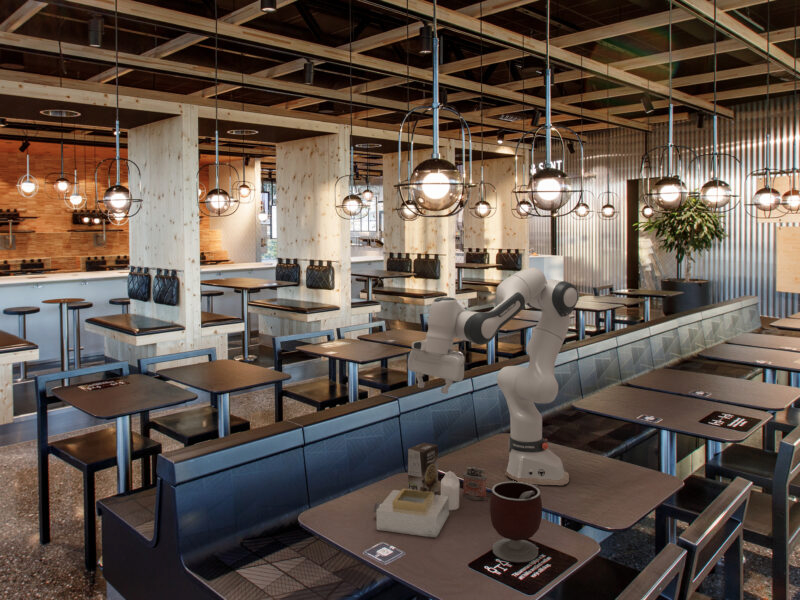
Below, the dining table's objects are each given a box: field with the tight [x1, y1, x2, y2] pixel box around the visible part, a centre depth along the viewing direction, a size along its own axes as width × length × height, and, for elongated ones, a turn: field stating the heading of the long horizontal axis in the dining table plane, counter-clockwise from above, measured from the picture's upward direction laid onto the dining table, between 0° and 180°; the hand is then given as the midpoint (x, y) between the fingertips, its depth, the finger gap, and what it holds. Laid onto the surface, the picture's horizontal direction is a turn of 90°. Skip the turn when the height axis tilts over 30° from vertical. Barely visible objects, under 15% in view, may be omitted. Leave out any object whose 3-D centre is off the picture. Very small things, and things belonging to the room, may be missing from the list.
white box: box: [374, 488, 450, 539], centre depth 193 cm, size 21×16×8 cm
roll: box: [440, 470, 460, 511], centre depth 203 cm, size 6×12×6 cm
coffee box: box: [407, 442, 439, 494], centre depth 214 cm, size 9×6×16 cm
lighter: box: [462, 466, 488, 501], centre depth 211 cm, size 8×3×10 cm, turn 62°
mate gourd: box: [489, 481, 543, 563], centre depth 173 cm, size 16×14×20 cm
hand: (432, 390), depth 205 cm, fingers open, 8 cm apart
